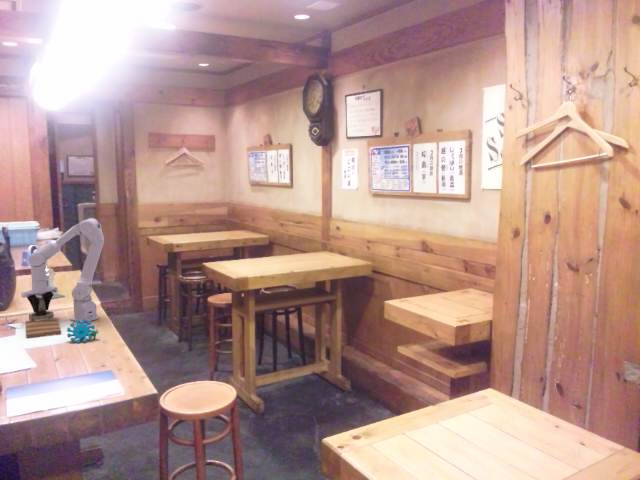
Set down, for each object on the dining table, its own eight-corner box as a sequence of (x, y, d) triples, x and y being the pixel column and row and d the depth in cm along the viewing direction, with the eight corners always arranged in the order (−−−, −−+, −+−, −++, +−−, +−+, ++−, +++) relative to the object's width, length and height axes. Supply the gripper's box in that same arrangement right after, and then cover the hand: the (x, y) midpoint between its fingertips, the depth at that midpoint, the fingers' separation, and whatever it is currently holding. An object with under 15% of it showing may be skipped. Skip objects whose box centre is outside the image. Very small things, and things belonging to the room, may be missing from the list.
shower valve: (49, 283, 282) (65, 286, 274) (49, 293, 283) (66, 297, 274) (25, 287, 272) (41, 291, 263) (26, 297, 272) (42, 302, 264)
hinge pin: (48, 316, 231) (47, 297, 230) (39, 318, 228) (37, 299, 227) (43, 314, 234) (42, 296, 233) (34, 316, 230) (33, 298, 229)
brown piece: (60, 333, 213) (60, 326, 213) (26, 338, 207) (26, 330, 207) (56, 316, 238) (56, 309, 238) (25, 319, 232) (25, 313, 232)
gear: (63, 340, 200) (70, 316, 207) (65, 347, 205) (73, 324, 211) (94, 343, 202) (100, 319, 208) (95, 350, 207) (102, 327, 213)
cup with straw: (49, 295, 277) (47, 256, 274) (34, 294, 278) (31, 256, 275) (60, 291, 285) (58, 254, 282) (44, 290, 286) (42, 253, 284)
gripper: (50, 276, 237) (52, 306, 239) (16, 281, 225) (18, 312, 227) (59, 277, 233) (61, 308, 235) (25, 283, 221) (27, 315, 223)
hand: (41, 310), depth 231 cm, fingers closed on hinge pin, 4 cm apart
